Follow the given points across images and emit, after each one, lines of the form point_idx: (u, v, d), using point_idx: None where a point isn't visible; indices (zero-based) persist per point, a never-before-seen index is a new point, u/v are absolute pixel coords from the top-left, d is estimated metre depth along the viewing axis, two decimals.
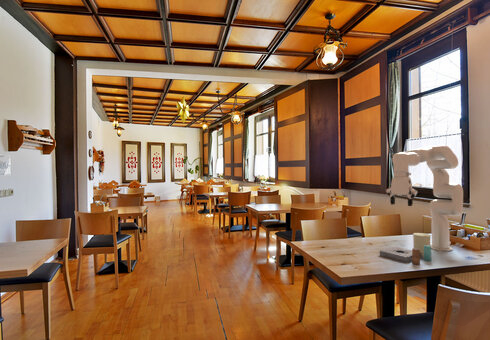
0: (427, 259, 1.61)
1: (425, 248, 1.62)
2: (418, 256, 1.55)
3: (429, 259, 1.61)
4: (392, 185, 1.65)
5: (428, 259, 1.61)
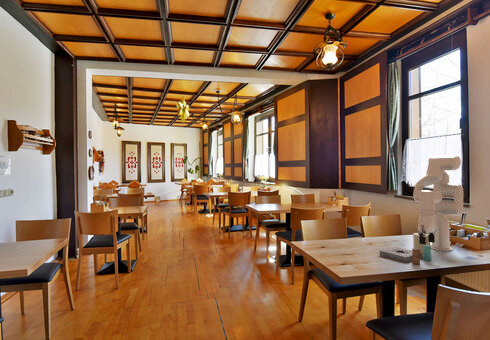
0: (427, 259, 1.61)
1: (425, 248, 1.62)
2: (418, 256, 1.55)
3: (429, 259, 1.61)
4: (427, 224, 1.59)
5: (428, 259, 1.61)
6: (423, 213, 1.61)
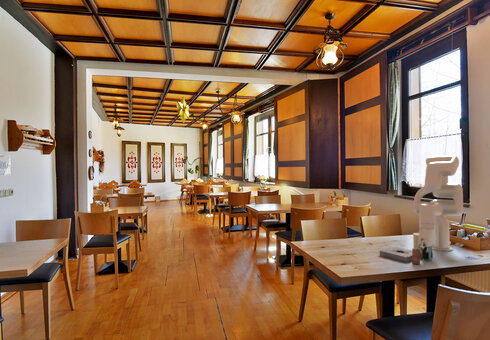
0: None
1: None
2: (418, 256, 1.55)
3: (429, 259, 1.61)
4: (428, 238, 1.59)
5: None
6: (423, 227, 1.61)
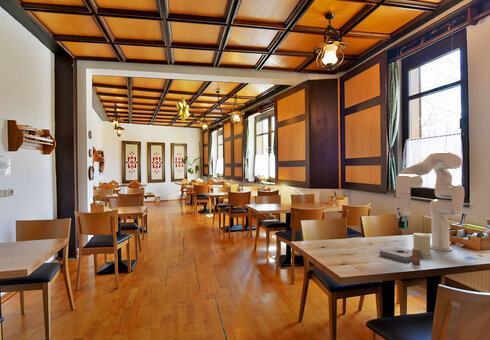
0: (403, 228, 1.67)
1: (401, 217, 1.68)
2: (418, 256, 1.55)
3: (405, 228, 1.67)
4: (403, 207, 1.65)
5: (404, 228, 1.67)
6: (399, 196, 1.67)
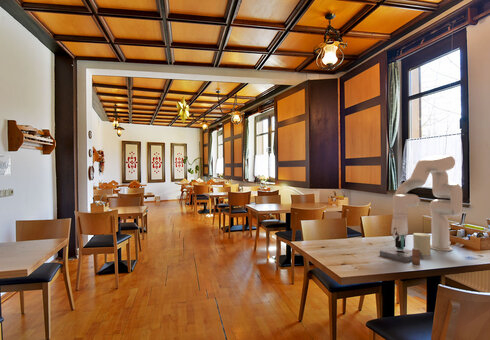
0: None
1: (398, 237, 1.69)
2: (418, 256, 1.55)
3: (401, 247, 1.68)
4: (400, 227, 1.66)
5: (401, 247, 1.68)
6: (396, 216, 1.68)
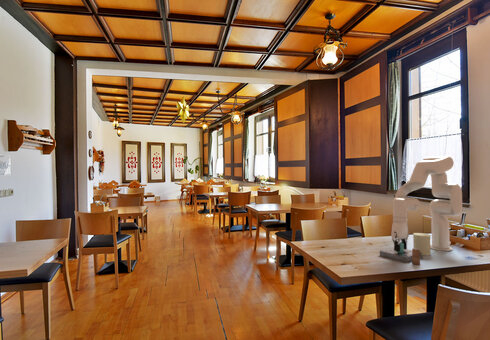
0: None
1: None
2: (418, 256, 1.55)
3: None
4: (400, 231, 1.66)
5: None
6: (396, 220, 1.68)
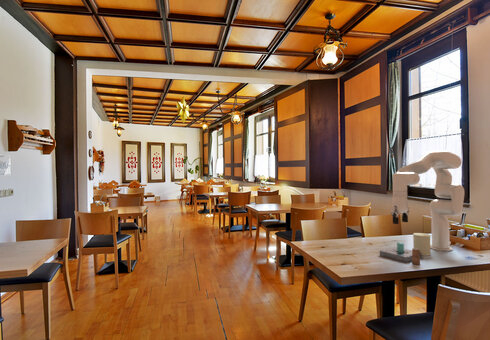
0: None
1: (398, 245, 1.69)
2: (418, 256, 1.55)
3: None
4: (400, 204, 1.66)
5: None
6: (396, 194, 1.68)
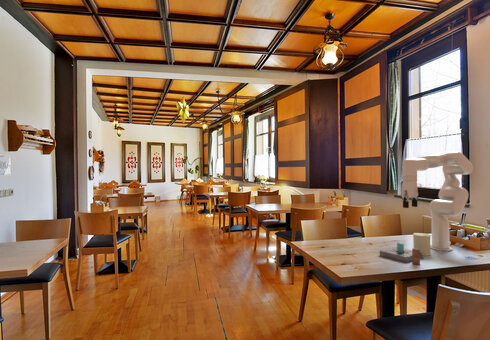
0: None
1: (398, 245, 1.69)
2: (418, 256, 1.55)
3: None
4: (410, 189, 1.72)
5: None
6: (406, 179, 1.74)
